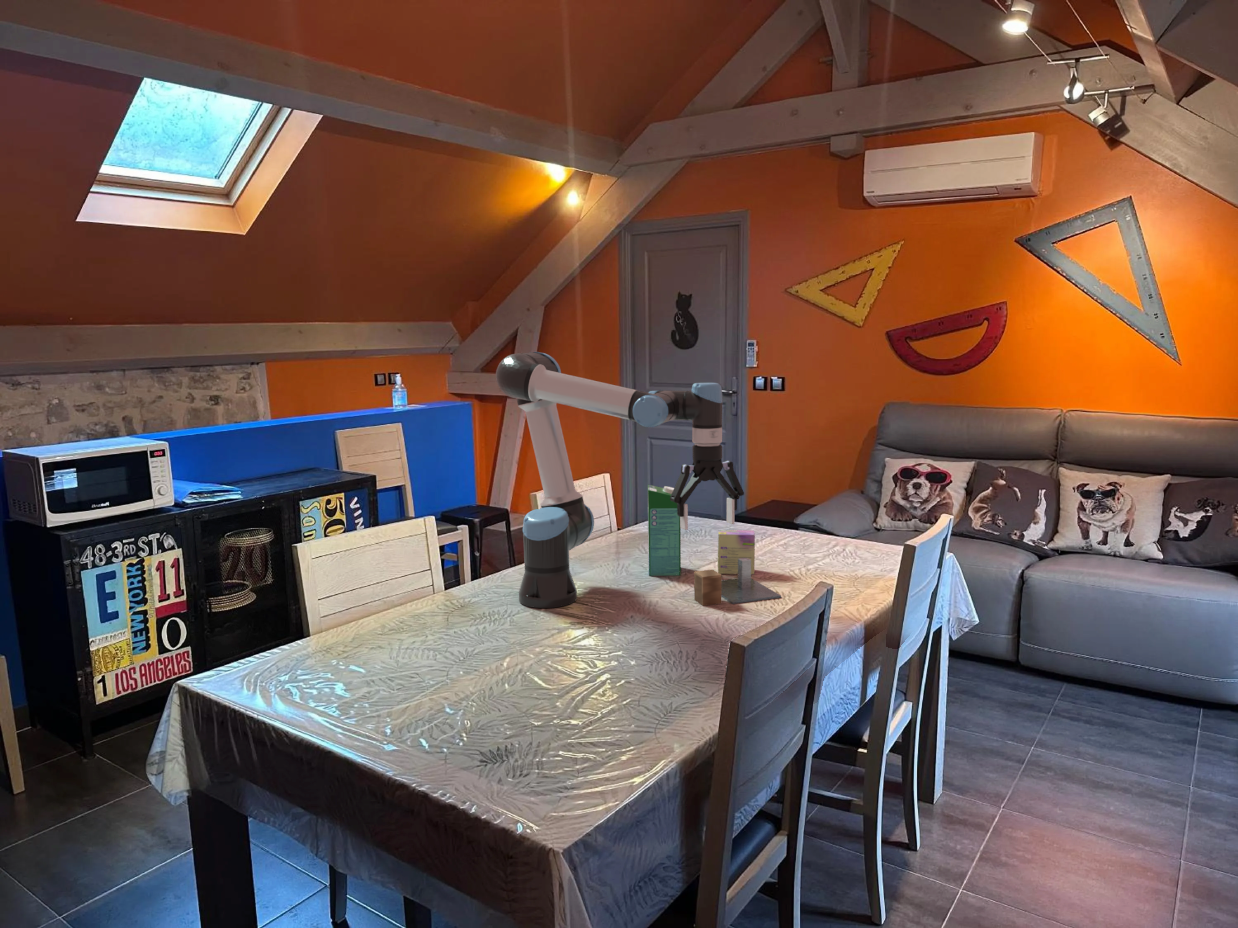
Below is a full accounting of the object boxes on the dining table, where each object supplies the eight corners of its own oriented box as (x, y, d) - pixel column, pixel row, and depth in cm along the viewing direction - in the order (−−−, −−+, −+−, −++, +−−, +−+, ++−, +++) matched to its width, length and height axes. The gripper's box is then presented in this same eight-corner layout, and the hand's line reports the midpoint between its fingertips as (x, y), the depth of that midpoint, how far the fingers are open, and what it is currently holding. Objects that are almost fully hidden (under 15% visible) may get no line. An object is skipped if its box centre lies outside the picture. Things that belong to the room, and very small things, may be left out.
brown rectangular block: (702, 605, 217) (702, 576, 216) (694, 599, 222) (694, 571, 221) (721, 603, 219) (721, 574, 218) (712, 597, 224) (712, 569, 223)
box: (753, 569, 250) (753, 529, 248) (754, 574, 244) (755, 534, 242) (717, 568, 251) (717, 529, 249) (717, 574, 245) (718, 534, 243)
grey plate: (732, 603, 219) (732, 573, 217) (703, 584, 235) (703, 556, 234) (780, 597, 223) (781, 567, 222) (748, 579, 240) (749, 551, 239)
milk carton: (680, 575, 244) (680, 489, 240) (649, 575, 244) (648, 489, 240) (679, 566, 253) (678, 483, 249) (648, 567, 253) (647, 483, 249)
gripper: (669, 449, 209) (670, 534, 212) (757, 442, 218) (756, 523, 222) (656, 445, 216) (657, 528, 219) (742, 439, 225) (741, 518, 229)
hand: (707, 526), depth 220 cm, fingers open, 13 cm apart
